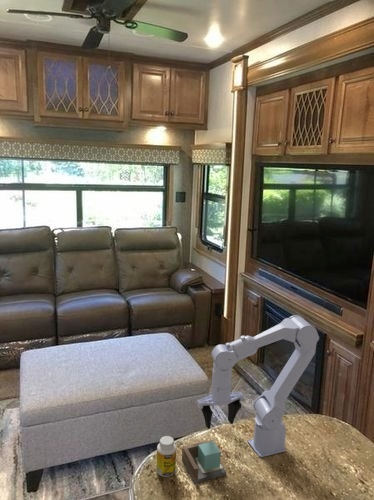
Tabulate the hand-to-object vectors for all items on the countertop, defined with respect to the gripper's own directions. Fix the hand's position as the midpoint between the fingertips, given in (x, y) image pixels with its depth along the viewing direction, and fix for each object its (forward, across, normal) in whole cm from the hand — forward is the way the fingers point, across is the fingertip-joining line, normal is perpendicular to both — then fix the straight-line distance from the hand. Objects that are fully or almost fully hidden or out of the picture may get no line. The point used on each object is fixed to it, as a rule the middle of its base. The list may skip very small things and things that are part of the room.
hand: (219, 424), depth 129 cm
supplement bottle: (+10, +18, +3) cm, 21 cm away
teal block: (+8, +6, +5) cm, 11 cm away
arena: (+9, +7, +5) cm, 13 cm away
